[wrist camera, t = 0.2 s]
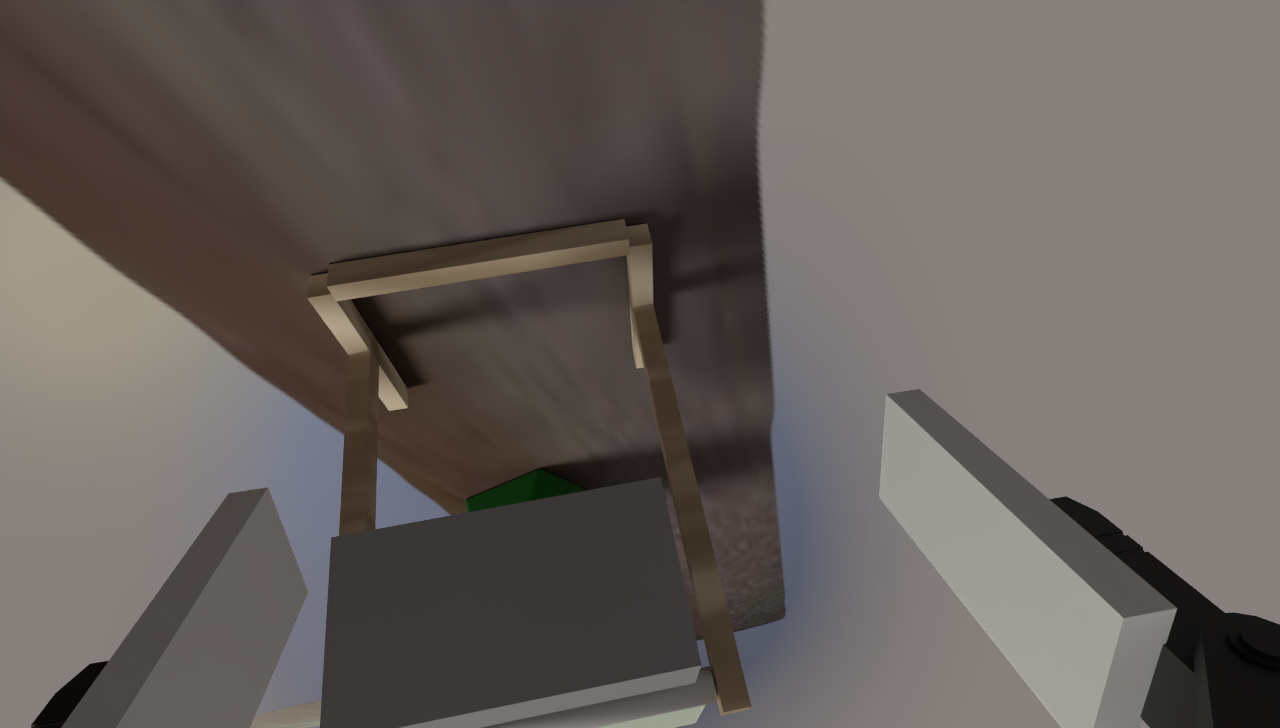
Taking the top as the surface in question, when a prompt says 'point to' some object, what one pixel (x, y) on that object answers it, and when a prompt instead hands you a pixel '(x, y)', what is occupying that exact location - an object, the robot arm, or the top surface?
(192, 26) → the top surface
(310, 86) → the top surface
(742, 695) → the trapdoor stand
